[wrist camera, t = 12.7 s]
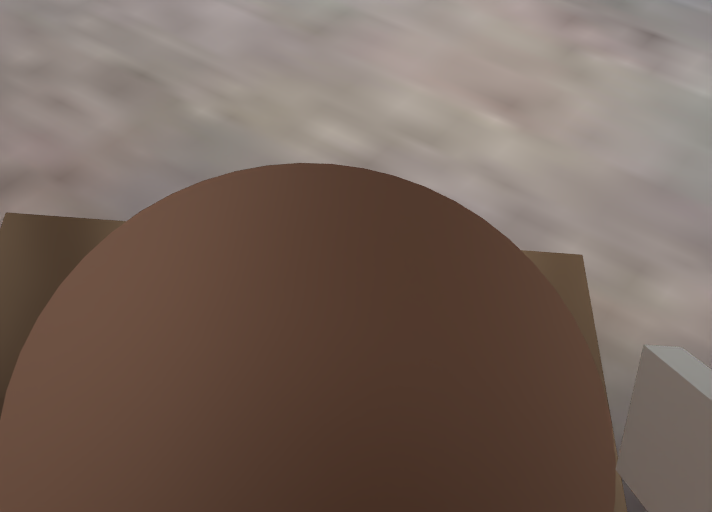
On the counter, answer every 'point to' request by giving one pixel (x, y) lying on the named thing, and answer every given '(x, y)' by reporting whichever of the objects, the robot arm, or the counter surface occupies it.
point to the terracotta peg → (306, 362)
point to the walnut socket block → (80, 235)
